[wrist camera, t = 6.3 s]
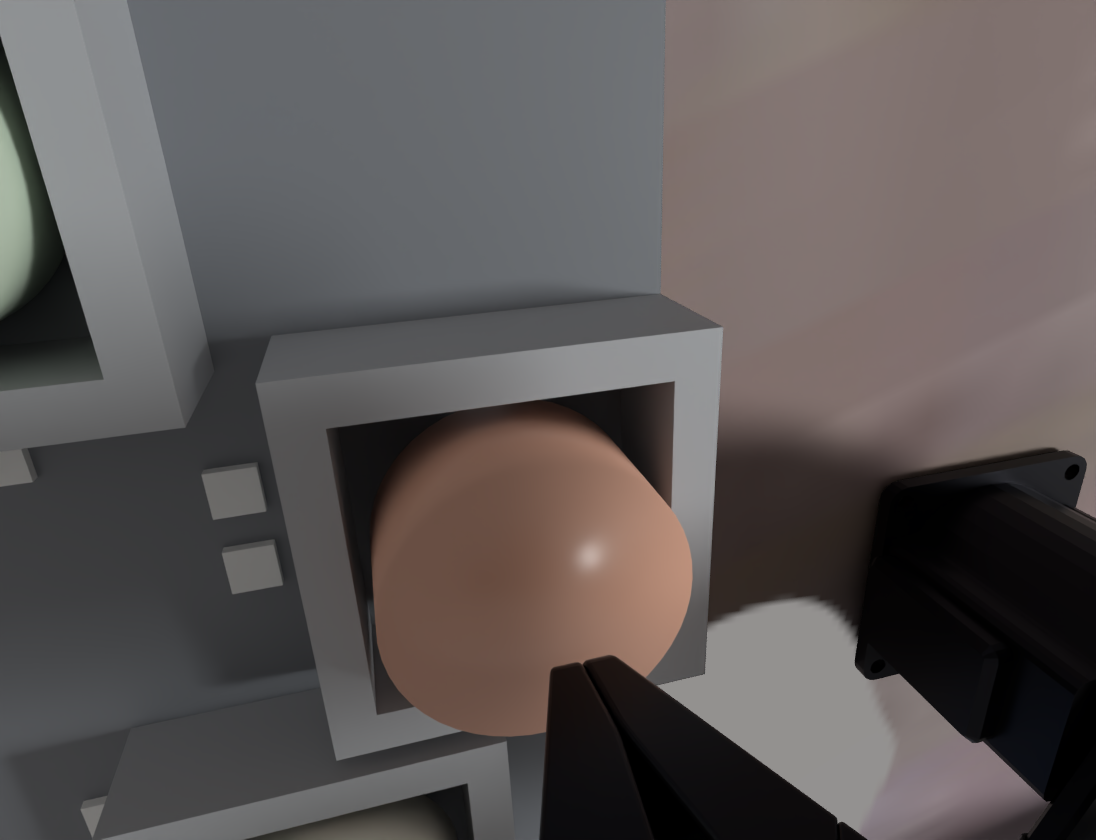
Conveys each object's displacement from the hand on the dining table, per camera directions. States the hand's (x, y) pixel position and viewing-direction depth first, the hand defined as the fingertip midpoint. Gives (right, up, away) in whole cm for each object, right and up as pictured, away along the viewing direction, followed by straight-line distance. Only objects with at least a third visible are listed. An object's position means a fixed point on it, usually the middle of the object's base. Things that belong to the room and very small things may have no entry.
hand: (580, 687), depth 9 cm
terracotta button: (-1, +2, +4) cm, 4 cm away
